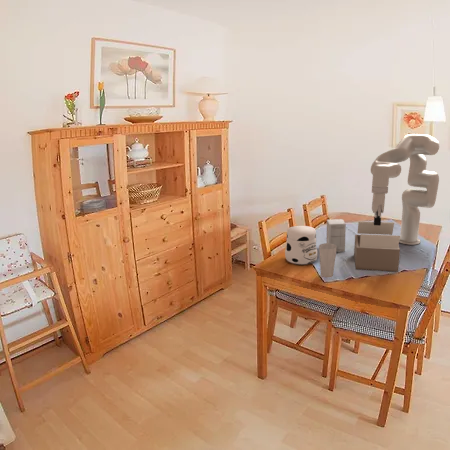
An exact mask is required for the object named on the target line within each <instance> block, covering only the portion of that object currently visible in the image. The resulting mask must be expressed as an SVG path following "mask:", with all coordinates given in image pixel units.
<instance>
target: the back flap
mask: <svg viewBox="0 0 450 450" xmlns="http://www.w3.org/2000/svg"><path fill="white" fill-rule="evenodd" d="M394 226H395V222H393V221H391V222H389V221H387V222H385V221H383V222H382V221H381V225H380V226H379V225H374V221H358V224H357V234H356V235H361V234H366V235H393V232H394Z"/></svg>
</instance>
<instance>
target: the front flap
mask: <svg viewBox="0 0 450 450" xmlns="http://www.w3.org/2000/svg"><path fill="white" fill-rule="evenodd" d="M360 235H361V237H360V247H368V248H391V249H398V246H399V243H400V242H399V240H400V235H394V234H392V235H384V234H360Z"/></svg>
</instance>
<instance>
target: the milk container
mask: <svg viewBox="0 0 450 450" xmlns="http://www.w3.org/2000/svg"><path fill="white" fill-rule="evenodd" d="M318 254H319V253H318V248H317V231H316V229H315V228H314V227H312V226H308V225H296V226H295V225H294V226H291V227H288V228H287V229H286V247H285V249H284V257H285V259H286V261H287V262H288V263H289V264H293V265H296V266H306V265H312V264H313V263H315V262H316V261H317V259H318Z"/></svg>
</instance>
